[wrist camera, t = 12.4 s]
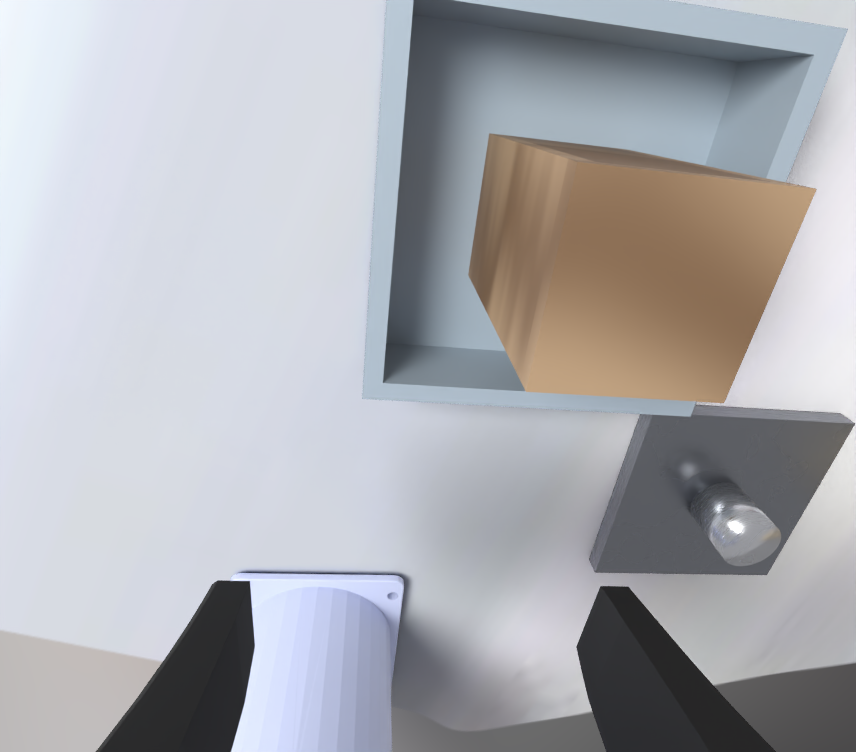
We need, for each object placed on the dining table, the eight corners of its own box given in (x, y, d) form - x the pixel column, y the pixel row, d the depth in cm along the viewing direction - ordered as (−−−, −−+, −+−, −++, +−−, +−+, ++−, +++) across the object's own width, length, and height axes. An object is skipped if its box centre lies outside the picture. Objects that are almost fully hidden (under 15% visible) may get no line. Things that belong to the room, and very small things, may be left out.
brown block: (591, 285, 18) (724, 402, 11) (467, 275, 18) (526, 392, 11) (627, 149, 16) (816, 188, 9) (489, 133, 16) (577, 161, 9)
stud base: (756, 562, 27) (802, 619, 24) (589, 559, 25) (615, 618, 23) (840, 413, 22) (908, 460, 20) (644, 402, 21) (685, 450, 18)
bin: (643, 369, 21) (690, 416, 18) (365, 350, 19) (362, 398, 16) (755, 42, 16) (848, 28, 12) (386, -14, 14) (389, -45, 11)
